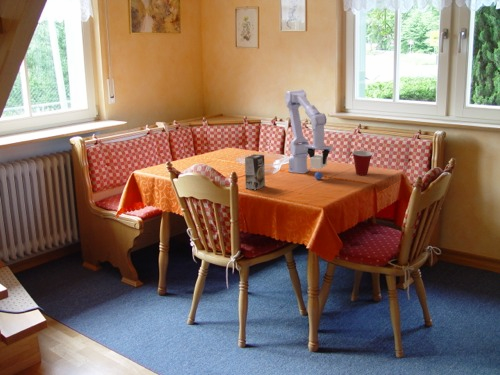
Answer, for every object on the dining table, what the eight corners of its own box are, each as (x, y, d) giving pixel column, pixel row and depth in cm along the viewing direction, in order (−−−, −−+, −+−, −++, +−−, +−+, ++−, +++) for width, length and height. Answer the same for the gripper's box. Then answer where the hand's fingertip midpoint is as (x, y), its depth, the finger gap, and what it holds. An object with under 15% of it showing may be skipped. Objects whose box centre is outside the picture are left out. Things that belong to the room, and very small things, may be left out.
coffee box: (256, 190, 308) (255, 158, 304) (245, 188, 311) (244, 157, 307) (265, 185, 315) (264, 154, 311) (254, 184, 319) (253, 153, 314)
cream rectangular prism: (310, 168, 320) (310, 157, 318) (317, 164, 328) (317, 154, 327) (320, 169, 317) (320, 158, 316) (327, 165, 326) (327, 154, 324)
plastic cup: (372, 177, 325) (372, 154, 322) (351, 176, 327) (351, 154, 324) (372, 171, 335) (373, 150, 332) (352, 171, 337) (352, 149, 334)
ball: (314, 170, 324) (316, 174, 327) (312, 176, 322) (314, 180, 325) (322, 170, 322) (324, 174, 325) (320, 177, 320) (322, 181, 323)
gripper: (302, 138, 318) (302, 164, 322) (329, 139, 312) (329, 166, 315) (307, 135, 324) (307, 161, 328) (334, 137, 318) (333, 163, 321)
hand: (318, 163), depth 322 cm, fingers closed on cream rectangular prism, 6 cm apart
